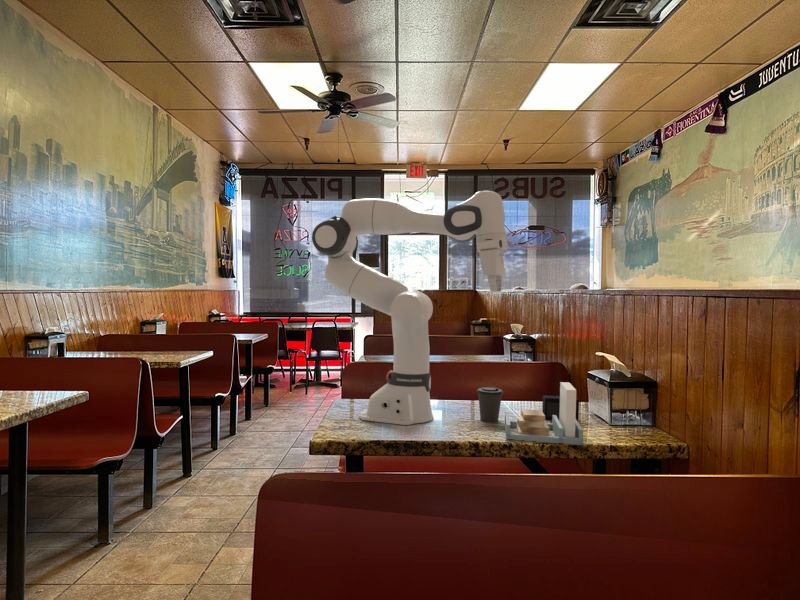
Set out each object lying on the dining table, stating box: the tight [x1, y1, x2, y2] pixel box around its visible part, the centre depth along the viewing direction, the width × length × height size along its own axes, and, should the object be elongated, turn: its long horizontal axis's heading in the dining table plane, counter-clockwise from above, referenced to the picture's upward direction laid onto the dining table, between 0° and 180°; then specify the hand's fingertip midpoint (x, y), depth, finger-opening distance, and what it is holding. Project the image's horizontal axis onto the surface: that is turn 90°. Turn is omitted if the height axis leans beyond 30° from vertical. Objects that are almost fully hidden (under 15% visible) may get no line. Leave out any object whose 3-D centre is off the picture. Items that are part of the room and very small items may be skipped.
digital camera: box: [542, 395, 580, 422], centre depth 160 cm, size 10×5×7 cm, turn 84°
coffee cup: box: [476, 386, 504, 423], centre depth 157 cm, size 8×8×10 cm
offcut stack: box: [515, 408, 550, 436], centre depth 142 cm, size 8×10×6 cm
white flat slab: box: [559, 381, 577, 438], centre depth 140 cm, size 2×12×14 cm, turn 170°
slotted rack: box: [504, 411, 584, 446], centre depth 142 cm, size 20×15×4 cm
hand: (496, 291), depth 152 cm, fingers open, 8 cm apart
